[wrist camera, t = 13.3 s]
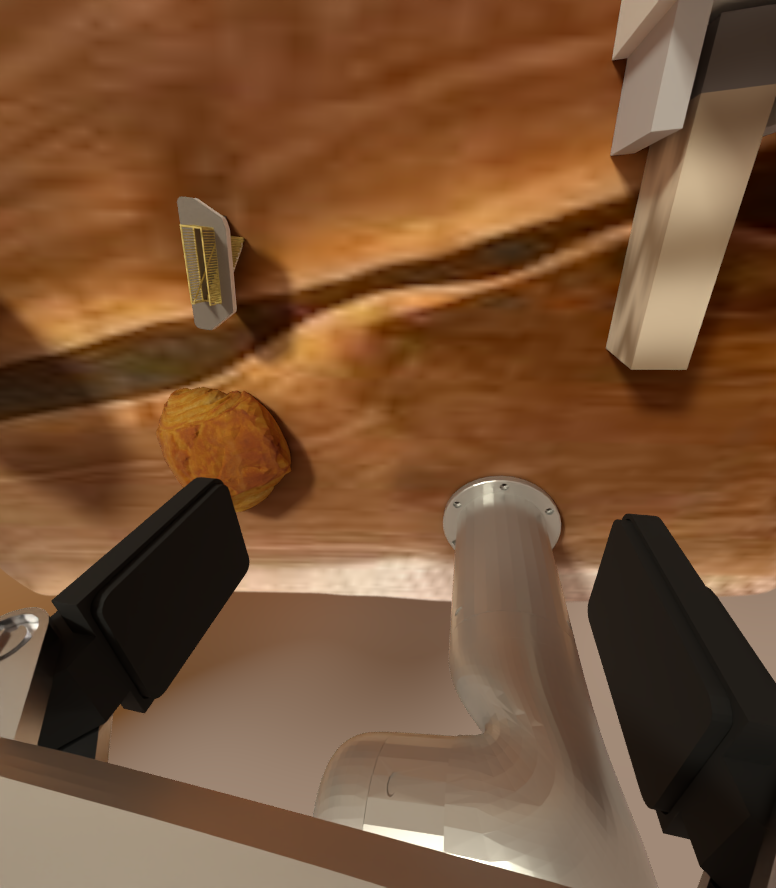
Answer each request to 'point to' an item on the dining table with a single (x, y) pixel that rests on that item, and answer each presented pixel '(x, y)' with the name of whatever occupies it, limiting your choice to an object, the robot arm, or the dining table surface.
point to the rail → (695, 194)
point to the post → (663, 65)
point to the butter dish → (208, 262)
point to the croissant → (224, 442)
